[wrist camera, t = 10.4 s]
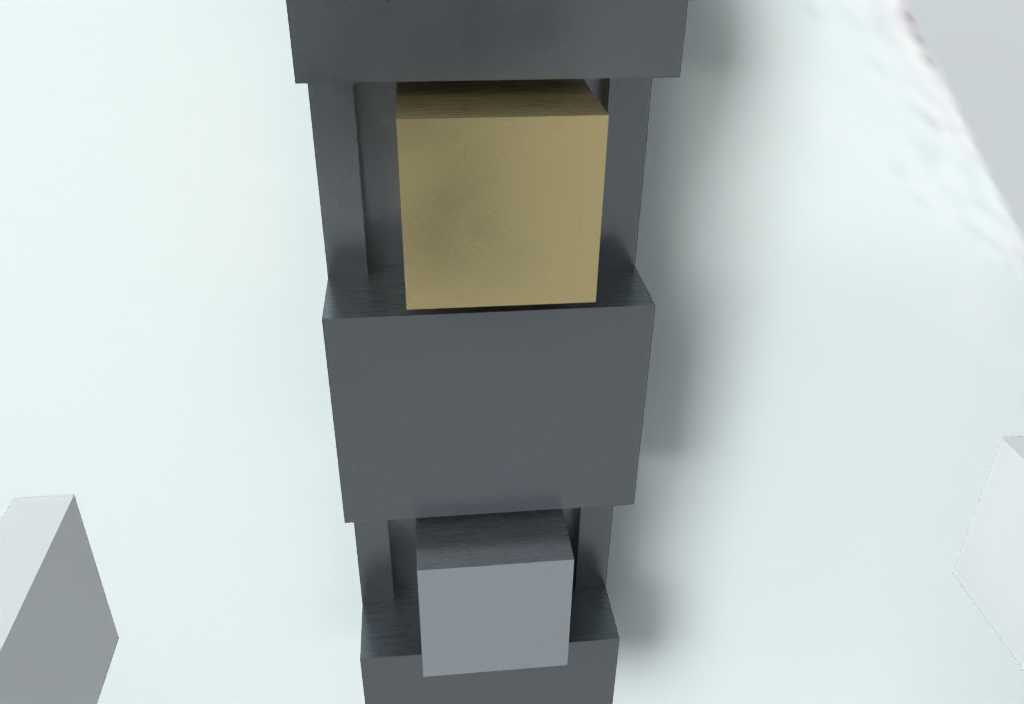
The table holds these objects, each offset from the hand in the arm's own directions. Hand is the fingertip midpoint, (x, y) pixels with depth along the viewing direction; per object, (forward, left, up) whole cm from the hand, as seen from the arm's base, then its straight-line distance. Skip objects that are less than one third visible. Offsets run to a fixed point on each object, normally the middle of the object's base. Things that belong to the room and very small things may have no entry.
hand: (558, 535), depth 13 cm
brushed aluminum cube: (-14, 0, -16) cm, 21 cm away
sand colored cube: (0, 0, -16) cm, 16 cm away
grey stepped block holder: (-7, 0, -17) cm, 18 cm away
